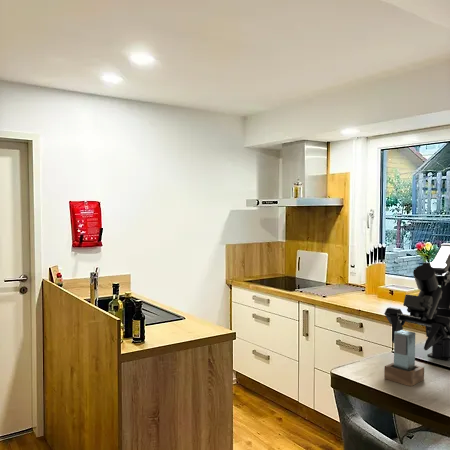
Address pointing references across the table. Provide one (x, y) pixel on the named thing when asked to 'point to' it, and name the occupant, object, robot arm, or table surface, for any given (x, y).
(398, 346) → the grey-blue tall rectangular block
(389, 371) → the post base
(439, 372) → the table surface
